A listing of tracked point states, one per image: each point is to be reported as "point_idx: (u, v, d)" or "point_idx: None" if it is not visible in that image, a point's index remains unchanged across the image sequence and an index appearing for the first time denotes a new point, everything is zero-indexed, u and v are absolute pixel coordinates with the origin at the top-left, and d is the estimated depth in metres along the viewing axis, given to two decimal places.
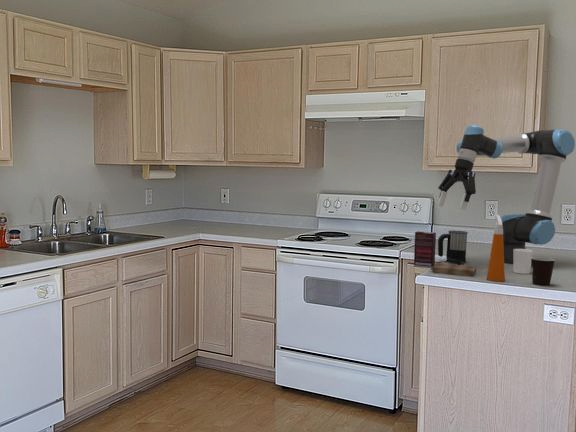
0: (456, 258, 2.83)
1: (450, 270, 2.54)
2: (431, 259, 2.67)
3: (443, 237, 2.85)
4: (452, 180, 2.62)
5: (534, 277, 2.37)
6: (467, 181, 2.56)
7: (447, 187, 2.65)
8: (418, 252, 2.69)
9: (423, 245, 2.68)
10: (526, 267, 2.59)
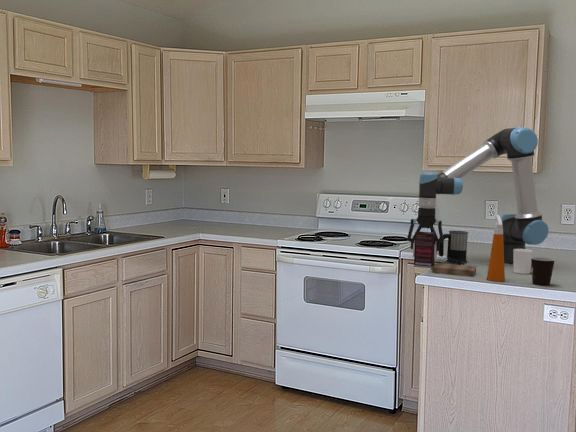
0: (457, 258, 2.83)
1: (450, 270, 2.54)
2: (431, 259, 2.67)
3: (443, 237, 2.84)
4: (420, 229, 2.69)
5: (534, 277, 2.37)
6: None
7: None
8: (418, 252, 2.69)
9: (423, 245, 2.68)
10: (526, 267, 2.59)
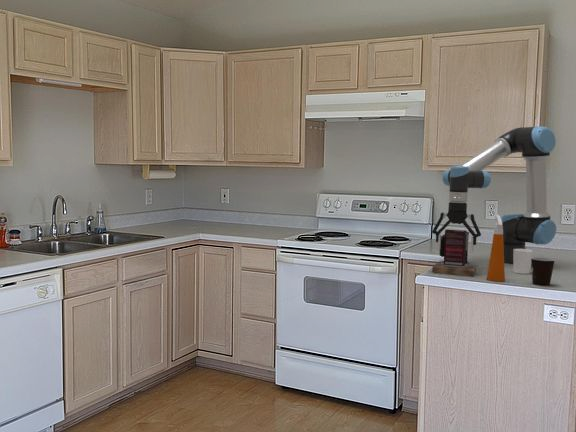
0: None
1: (450, 270, 2.54)
2: (462, 258, 2.55)
3: (444, 237, 2.84)
4: (448, 223, 2.58)
5: (534, 277, 2.37)
6: None
7: (442, 230, 2.60)
8: (448, 251, 2.57)
9: (453, 243, 2.56)
10: (526, 267, 2.59)
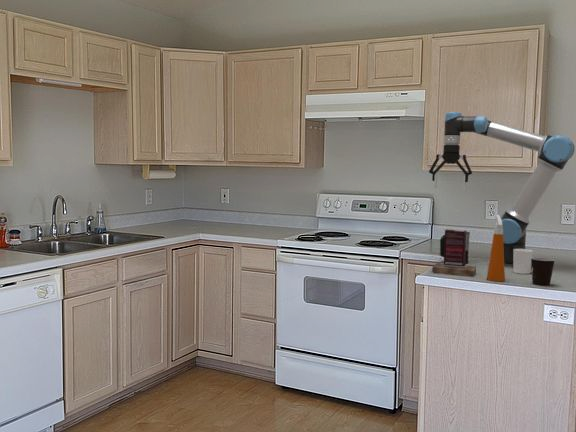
0: None
1: (450, 270, 2.54)
2: (462, 258, 2.55)
3: None
4: (443, 164, 2.91)
5: (534, 277, 2.37)
6: (459, 163, 2.90)
7: (438, 170, 2.93)
8: (448, 251, 2.57)
9: (453, 243, 2.56)
10: (526, 267, 2.59)
